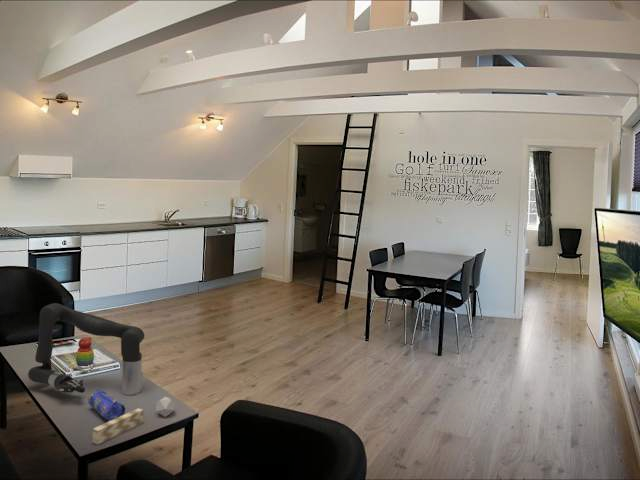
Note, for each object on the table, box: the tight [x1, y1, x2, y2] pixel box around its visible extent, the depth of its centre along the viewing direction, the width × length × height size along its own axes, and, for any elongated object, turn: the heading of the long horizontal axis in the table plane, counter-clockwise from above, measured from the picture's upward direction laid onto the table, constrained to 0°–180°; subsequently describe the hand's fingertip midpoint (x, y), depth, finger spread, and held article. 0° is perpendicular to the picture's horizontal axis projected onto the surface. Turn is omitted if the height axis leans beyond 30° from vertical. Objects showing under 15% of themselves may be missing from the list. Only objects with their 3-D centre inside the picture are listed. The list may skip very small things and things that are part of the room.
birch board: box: [92, 407, 144, 445], centre depth 223 cm, size 24×3×6 cm, turn 151°
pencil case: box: [87, 389, 127, 422], centre depth 237 cm, size 22×9×10 cm, turn 47°
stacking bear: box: [75, 336, 95, 366], centre depth 289 cm, size 11×10×18 cm
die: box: [155, 396, 175, 418], centre depth 241 cm, size 8×9×10 cm
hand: (83, 390), depth 244 cm, fingers closed
